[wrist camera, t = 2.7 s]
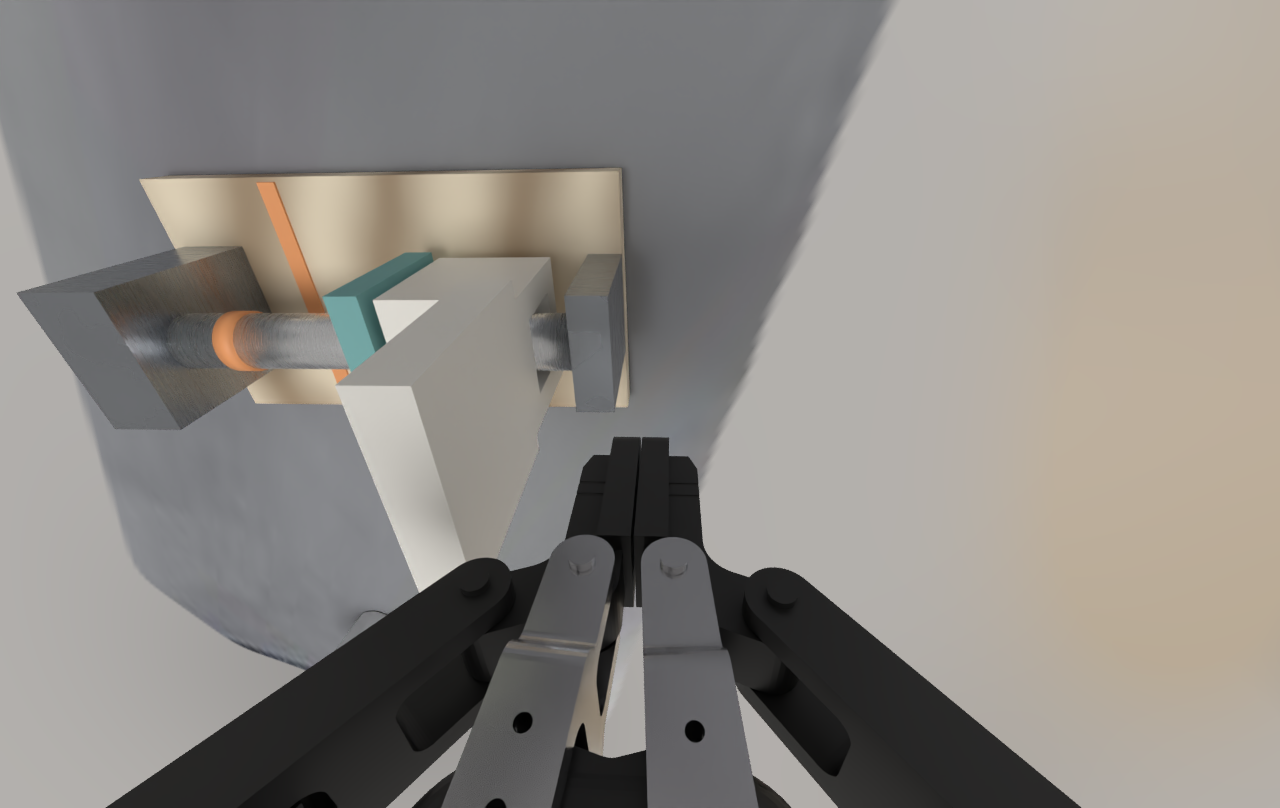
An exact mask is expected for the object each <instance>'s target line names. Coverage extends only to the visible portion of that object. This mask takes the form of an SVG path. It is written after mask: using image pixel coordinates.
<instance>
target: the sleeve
mask: <svg viewBox="0 0 1280 808" xmlns="http://www.w3.org/2000/svg"><path fill="white" fill-rule="evenodd" d="M372 301H373V304H374V307H375V310H376V313H377V316H378V319H379V322H380V325H381V328H382V331H383V334H384V337H385V340H386V344H385V345H384V346H383V347H381V348H380V349H379V350H378V351H376V352H375V353H374V354H373V355H372V356H370V357H369V358H368V359H367V360H365V361H364V362H363V363H362V364H361V365H359V366H358V367H357V368H356V369H354V370H353V371H352V372H351V373H350V374H348V375H347V376H346V377H345V378H343V379H342V380H341V381H340V382H338V383H337V384H336V385H335V387H336V390H337V392H338V395H339V397H340V400H341V402H342V404H343V407H344V409H345V412H346V414H347V417H348V419H349V422H350V424H351V426H352V429H353V431H354V434H355V436H356V439H357V441H358V444H359V446H360V448H361V451H362V453H363V456H364V458H365V461H366V463H367V466H368V468H369V471H370V473H371V475H372V478H373V480H374V483H375V485H376V488H377V490H378V493H379V495H380V497H381V500H382V502H383V505H384V507H385V510H386V512H387V515H388V517H389V519H390V522H391V524H392V527H393V529H394V532H395V534H396V537H397V539H398V541H399V544H400V546H401V549H402V551H403V554H404V556H405V559H406V561H407V564H408V566H409V568H410V571H411V573H412V576H413V578H414V581H415V583H416V586H417V588H418V590H419V593H420V592H421V591H423V590H424V589H426V588H427V587H429V586H430V585H432V584H433V583H435V582H436V581H437V580H439V579H440V578H442V577H443V576H445V575H446V574H448V573H449V572H451V571H452V570H454V569H455V568H456V567H458V566H460V565H461V564H463V563H465V562H467V561H470V560H473V559H477V558H494V559H497V558H498V555H499V552H500V550H501V547H502V545H503V542H504V539H505V537H506V534H507V532H508V529H509V526H510V524H511V521H512V519H513V516H514V514H515V511H516V508H517V506H518V503H519V501H520V498H521V495H522V493H523V490H524V488H525V485H526V482H527V480H528V477H529V475H530V472H531V470H532V467H533V464H534V462H535V459H536V457H537V454H538V451H539V444H538V438H537V434H538V432H539V429H540V427H541V424H542V422H543V419H544V417H545V415H546V412H547V410H548V407H549V405H550V402H551V400H552V397H553V395H554V393H555V390H556V388H557V385H558V383H559V380H560V378H561V376H562V373H563V371H537V370H536V364H535V357H534V350H533V344H532V337H531V330H530V324H529V319H530V318H531V316H532V315H533V313H557V310H556V302H555V293H554V285H553V276H552V268H551V259H550V257H499V258H438V259H437V260H435V261H434V262H432V263H431V264H429V265H427V266H426V267H424V268H423V269H421V270H419V271H418V272H416V273H415V274H413V275H412V276H410V277H408V278H407V279H405V280H404V281H402V282H400V283H399V284H397V285H396V286H394V287H393V288H391V289H389V290H388V291H386V292H385V293H383V294H381V295H380V296H378V297H377V298H375V299H374V300H372Z"/></svg>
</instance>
